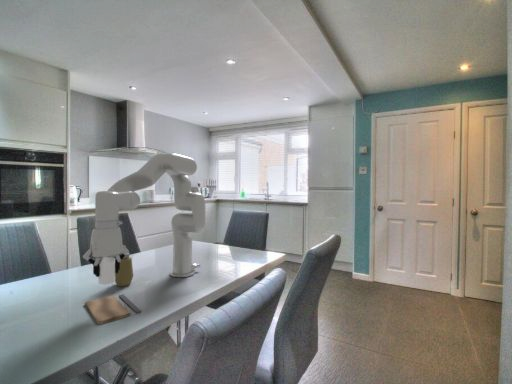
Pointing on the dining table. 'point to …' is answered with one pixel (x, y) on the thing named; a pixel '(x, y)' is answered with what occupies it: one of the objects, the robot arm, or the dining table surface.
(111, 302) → the board
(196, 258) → the dining table surface
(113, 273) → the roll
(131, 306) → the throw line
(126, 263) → the squeeze bottle
